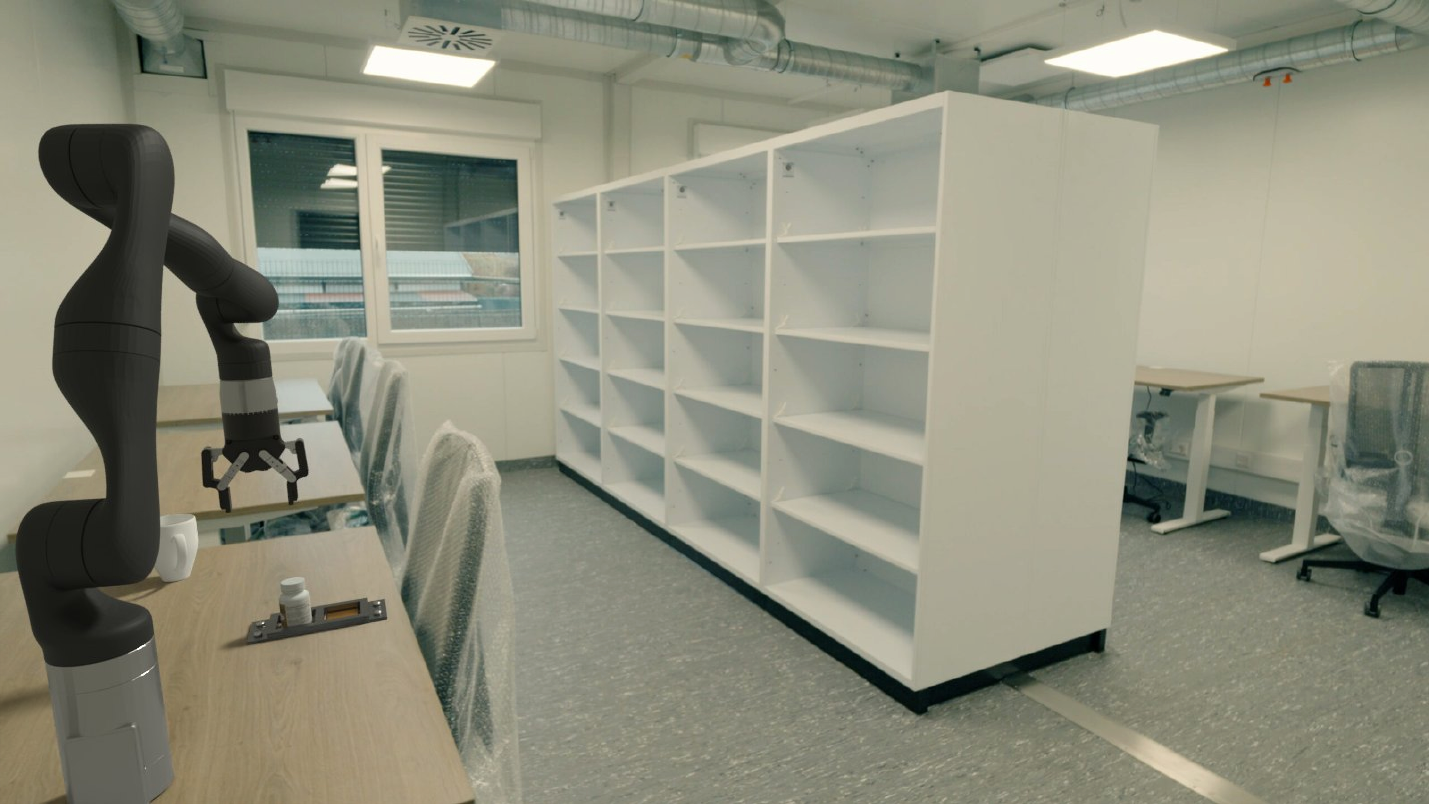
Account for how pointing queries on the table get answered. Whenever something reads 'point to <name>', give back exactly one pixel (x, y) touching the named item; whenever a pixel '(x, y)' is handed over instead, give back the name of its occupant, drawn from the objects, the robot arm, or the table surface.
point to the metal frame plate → (320, 620)
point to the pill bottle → (294, 603)
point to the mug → (176, 547)
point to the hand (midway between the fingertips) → (260, 507)
